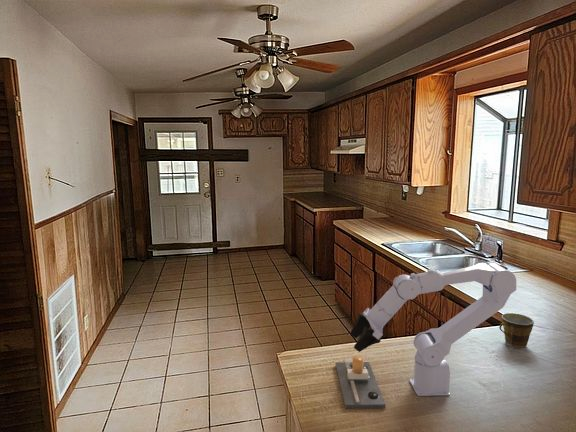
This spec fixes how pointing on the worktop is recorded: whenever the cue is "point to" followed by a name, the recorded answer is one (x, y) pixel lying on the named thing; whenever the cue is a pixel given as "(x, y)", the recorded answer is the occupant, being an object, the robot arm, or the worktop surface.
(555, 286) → the worktop surface
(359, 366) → the block with orange knob
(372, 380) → the hole plate
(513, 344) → the ceramic cup
